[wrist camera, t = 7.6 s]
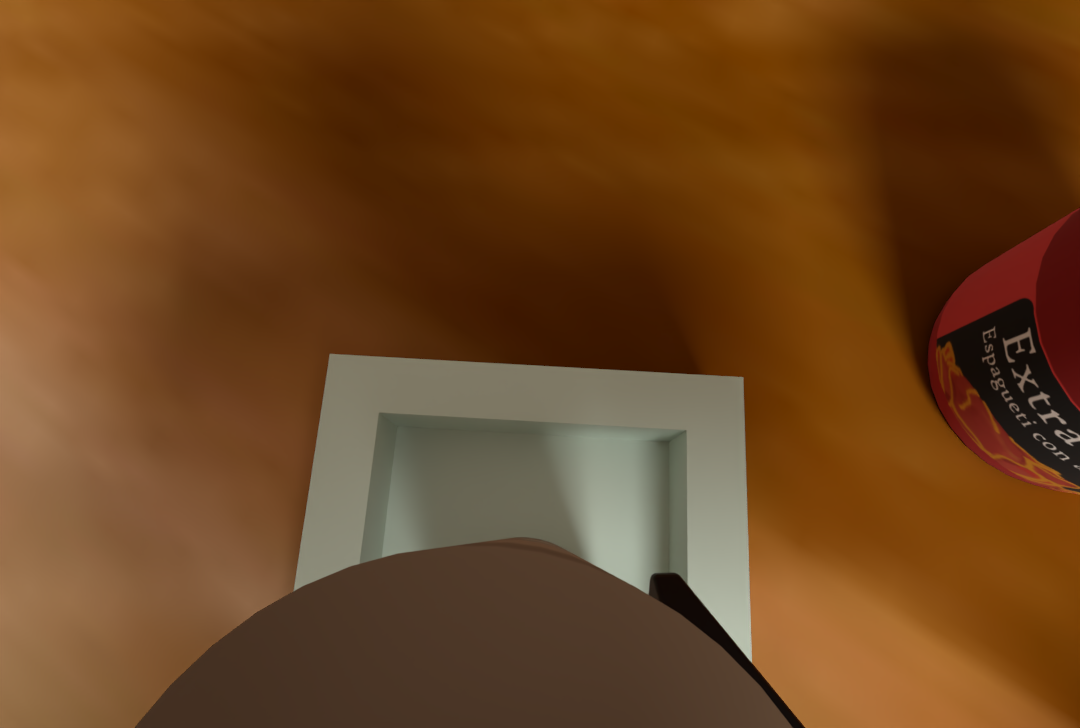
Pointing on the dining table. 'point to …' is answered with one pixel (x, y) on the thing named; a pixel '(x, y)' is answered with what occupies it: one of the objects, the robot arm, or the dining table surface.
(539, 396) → the tray
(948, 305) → the canned food
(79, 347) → the dining table surface
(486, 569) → the brown round cylinder
